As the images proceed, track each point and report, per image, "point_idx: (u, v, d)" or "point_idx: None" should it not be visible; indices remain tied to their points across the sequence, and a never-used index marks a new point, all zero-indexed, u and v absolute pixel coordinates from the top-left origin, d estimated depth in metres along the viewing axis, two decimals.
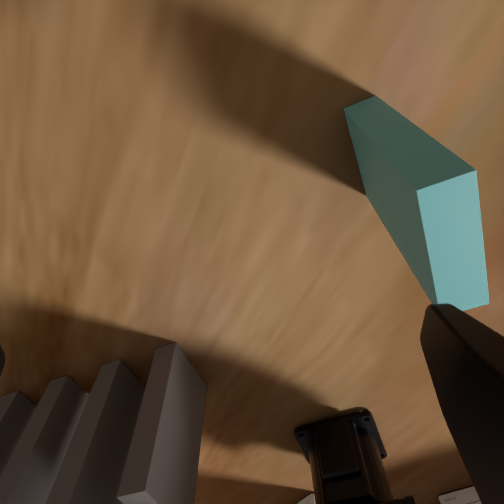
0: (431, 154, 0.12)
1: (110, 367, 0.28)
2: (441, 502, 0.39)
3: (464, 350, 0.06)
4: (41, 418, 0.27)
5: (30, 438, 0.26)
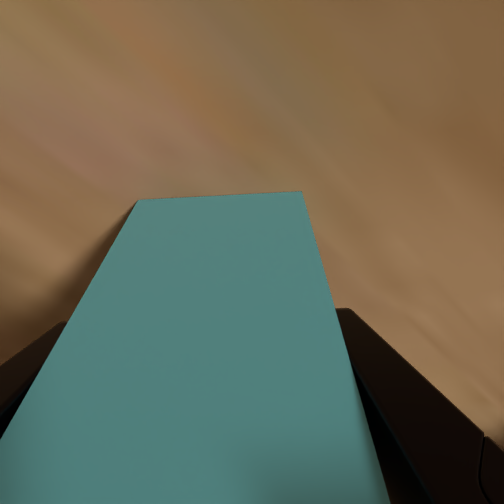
0: None
1: None
2: None
3: None
4: None
5: None
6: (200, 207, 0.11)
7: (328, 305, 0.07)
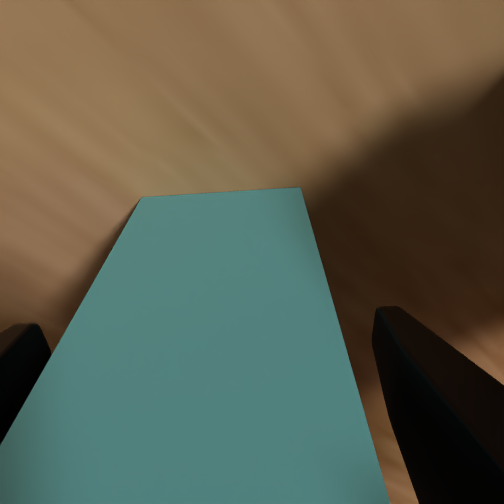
0: None
1: None
2: None
3: (402, 352, 0.06)
4: None
5: None
6: (202, 203, 0.12)
7: (325, 293, 0.08)
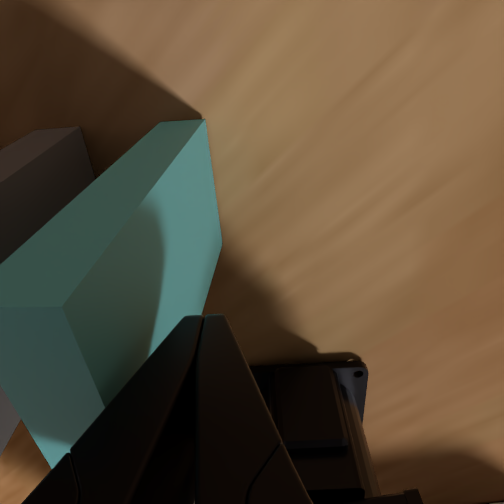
0: (87, 238, 0.07)
1: None
2: None
3: (195, 362, 0.07)
4: None
5: None
6: (209, 182, 0.14)
7: None
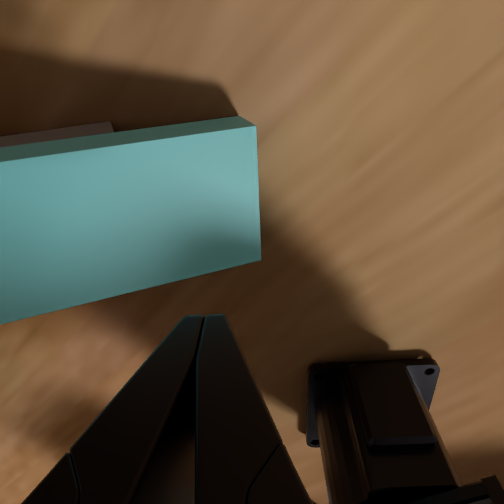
0: None
1: None
2: None
3: (196, 362, 0.07)
4: None
5: None
6: (236, 189, 0.13)
7: (113, 293, 0.13)
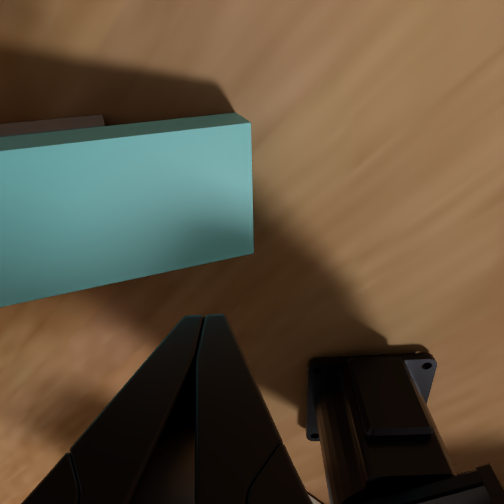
0: None
1: None
2: None
3: (196, 362, 0.07)
4: None
5: None
6: (230, 184, 0.14)
7: (109, 281, 0.14)
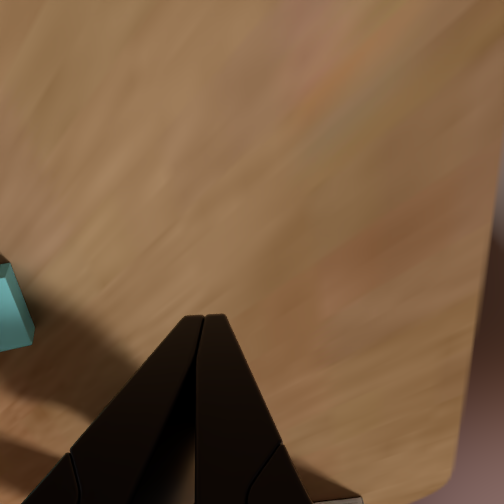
0: None
1: None
2: None
3: (195, 362, 0.07)
4: None
5: None
6: (1, 309, 0.23)
7: None
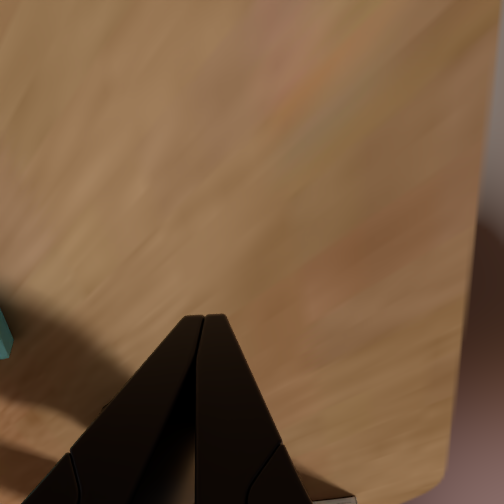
0: None
1: None
2: None
3: (195, 362, 0.07)
4: None
5: None
6: None
7: None
